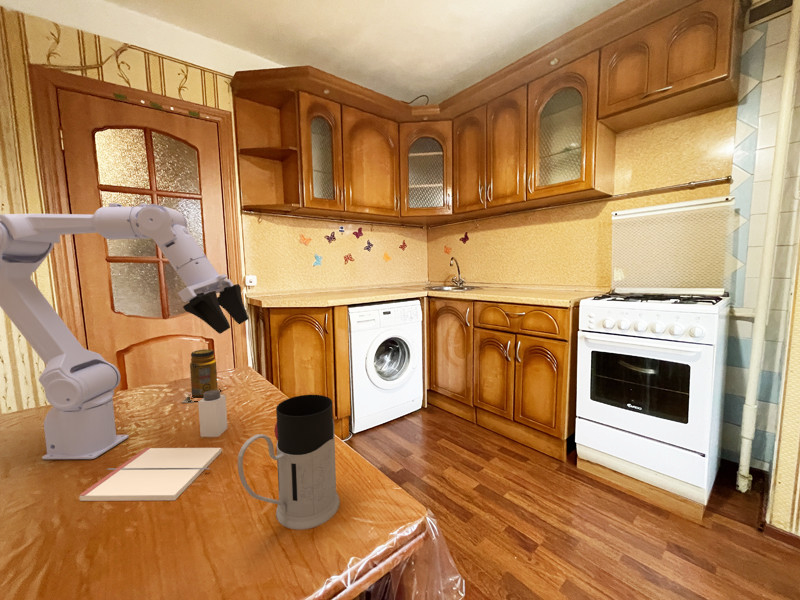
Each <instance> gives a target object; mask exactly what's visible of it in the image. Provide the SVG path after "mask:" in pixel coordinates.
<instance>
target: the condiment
mask: <svg viewBox="0 0 800 600" xmlns="http://www.w3.org/2000/svg"><path fill="white" fill-rule="evenodd" d="M214 353H215V352H214V350H213V349H206V348H205V349H198V350H195V351H192V352H191V355H190V356H191V359H190V363H189V370H190V385H191V394H192V397H193V398H204V395H203V393H204V392H206V391H210V390H218V389H219V388H218V374H217V361H216V359H215V354H214ZM191 394H190V395H191ZM190 395H188V396H187V397H186V398H185V399H184V400H182V403H187V404H188V403H189V402H188V401H191V402H190V403H195V402H194V401H192V400H190V397H189V396H190Z"/></svg>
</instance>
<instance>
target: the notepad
mask: <svg viewBox="0 0 800 600" xmlns="http://www.w3.org/2000/svg"><path fill="white" fill-rule="evenodd" d="M222 450H223V449H222V447H145V448H143V449H142V450H141V451H140V452H138V453H136V454H135V455H134V456H132V457H131V458H129V459H128V460H126V461H125V462H124V463H122V464H121V465H119V466H118V467H116V468H110V467H109V468H107V469H106V470H108V471H111V472H109V473H108V474H107V475H105V476H104V477H103V478H101V479H100V480H98V481H97V482H96V483H94V484H93V485H92V486H90V487H89V488H87V489H86V490H85V491H83V492H82V493H80V494H79V495H78V496H79V501H80V502H82V501H83V502H85V501H86V502H93V501H95V502H96V501H97V502H98V501H99V502H100V501H102V502H103V501H104V502H105V501H108V502H109V501H110V502H111V501H113V502H114V501H115V502H116V501H118V502H120V501H121V502H123V501H126V502H127V501H128V502H129V501H130V502H131V501H135V502H137V501H138V502H139V501H176V500H177V499H178V498H179V496H180V495H181V494H182V493H183V492H184V491H186V490H187V488H189V486H190V485H191V484H192V483H193V482H194V481H195V480H196V479H197V478H198V477H200V475H201V474H202V473H203V472H204V471H205V470H210V469H211V467H209V466H210V464H212V462H214V461H215V460H216V458H218V457H219V456H220V455H221V453H222V452H223V451H222Z"/></svg>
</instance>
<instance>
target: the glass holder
mask: <svg viewBox="0 0 800 600" xmlns="http://www.w3.org/2000/svg"><path fill="white" fill-rule="evenodd" d="M275 409H276V412H275V413H276V414H275V415H276V422H277V436H278V440H277V441H276V455H275V449H274V443H273V441H272V439H271V438H270V437H269V436H268V435H266V434H263V433H262V434H261V433H259V434H254V435H253V436H250V438H248V439H247V440H246V441H244V443H243V445H241V448H240V450H239V452H238V455H237V471H238V472H237V473H238V477H239V479H240V482H241V484H242V487H243V488H244V490H245V491H246V492H247V493H248V494H249V495H250V496H251V497H252V498H254V499H256V500H259V501H263V502H266V503H269V504H275V505H277V506H276V507H277V508H276V510H275V511H276V512H275V516H276V520H277V521H278V522H279V524H281V525H282V526H283V527H285V528H287V529H291V530H296V531H297V530H309V529H313V528H316V527H319V526H321V525H323V524H325V523H326V522H327V521H329V520H331V519H332V518H333V517H334V516H335V514H336V513H337V512H338V509H339V508H340V502H341V501H340V496H339V494H338V492H337V481H336V479H337V477H336V475H337V474H336V446H335V445H336V442H335V438H336V437H335V421H334V415H333V414H334V413H333V409H334V408H333V401H332V399H331V398H330V397H328V396H325V395H322V394H302V395H301V394H300V395H296V396H293V397H290V398H286V399H284V400H283V401H281V402H279V403H278V404H277V406H276V408H275ZM259 439H264V440H265V441H266V442H267V447H268V454H269V457H270V458H271V460H272V459H273V460H274V461H277V463H276V466H277V483H278V484H277V486H278V499H274V498H271V497H270V498H269V497H265V496H262V495H259V494H257V493H256V492H255V491H253V490H252V488H251V487H250V485H249V484H248V483H247V482H248V481H247V480H246V477H245V473H244V465H243V463H244V456H245V453H246V450H247V449H248V448H249V446H250V445H251V444H252V443H253V442H255V441H256V440H259Z"/></svg>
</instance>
